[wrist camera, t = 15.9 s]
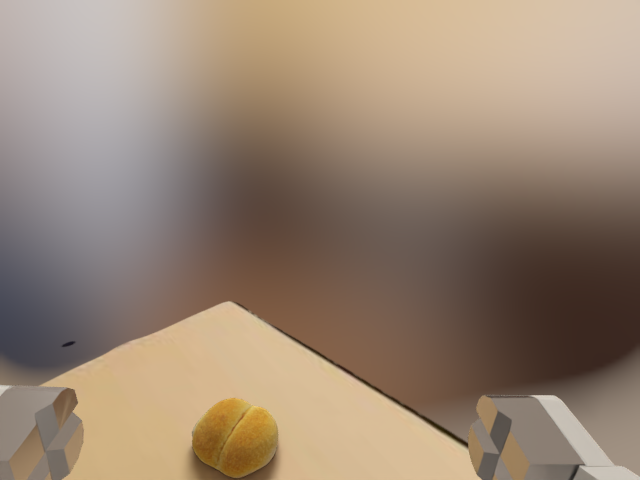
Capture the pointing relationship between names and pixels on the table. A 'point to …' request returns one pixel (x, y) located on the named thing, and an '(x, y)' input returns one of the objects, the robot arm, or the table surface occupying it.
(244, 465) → the bread roll
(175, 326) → the table surface
